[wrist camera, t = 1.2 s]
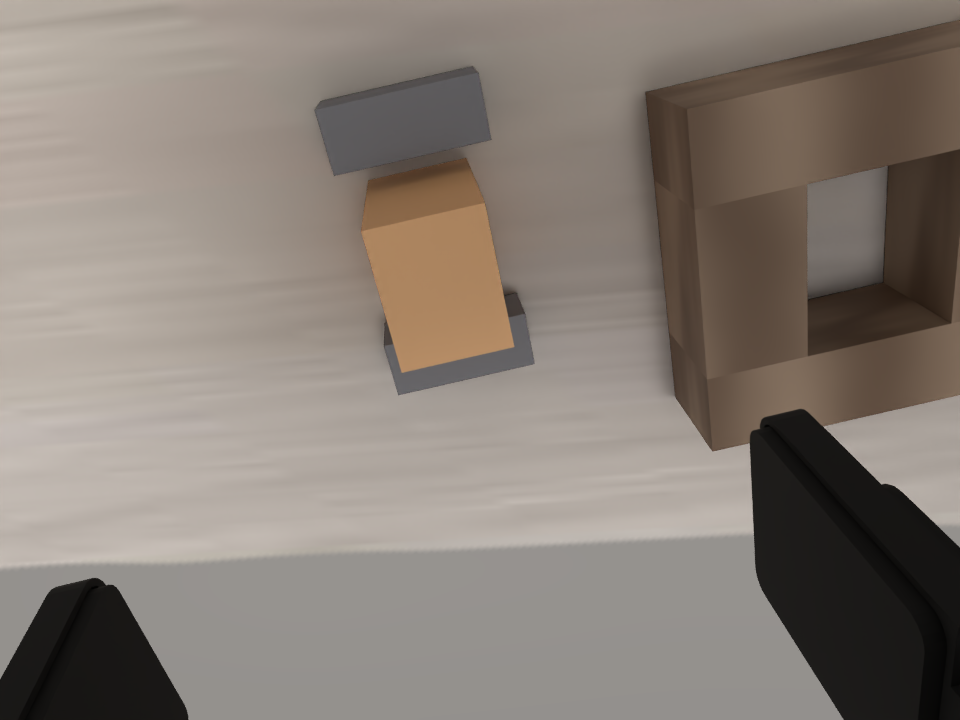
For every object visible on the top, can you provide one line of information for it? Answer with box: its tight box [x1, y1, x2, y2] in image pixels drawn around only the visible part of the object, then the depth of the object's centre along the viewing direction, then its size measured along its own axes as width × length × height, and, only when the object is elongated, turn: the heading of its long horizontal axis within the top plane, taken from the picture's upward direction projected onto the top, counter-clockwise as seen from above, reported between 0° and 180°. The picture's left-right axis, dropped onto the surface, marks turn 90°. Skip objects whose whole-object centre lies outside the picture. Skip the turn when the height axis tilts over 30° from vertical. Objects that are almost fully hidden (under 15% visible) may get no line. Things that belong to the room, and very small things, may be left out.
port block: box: [646, 20, 960, 451], centre depth 26 cm, size 12×12×4 cm
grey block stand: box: [315, 66, 535, 395], centre depth 26 cm, size 5×10×2 cm, turn 12°
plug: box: [361, 158, 514, 373], centre depth 24 cm, size 3×4×6 cm
